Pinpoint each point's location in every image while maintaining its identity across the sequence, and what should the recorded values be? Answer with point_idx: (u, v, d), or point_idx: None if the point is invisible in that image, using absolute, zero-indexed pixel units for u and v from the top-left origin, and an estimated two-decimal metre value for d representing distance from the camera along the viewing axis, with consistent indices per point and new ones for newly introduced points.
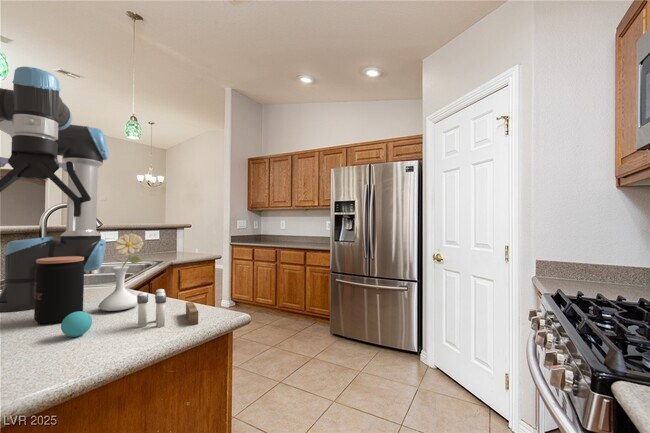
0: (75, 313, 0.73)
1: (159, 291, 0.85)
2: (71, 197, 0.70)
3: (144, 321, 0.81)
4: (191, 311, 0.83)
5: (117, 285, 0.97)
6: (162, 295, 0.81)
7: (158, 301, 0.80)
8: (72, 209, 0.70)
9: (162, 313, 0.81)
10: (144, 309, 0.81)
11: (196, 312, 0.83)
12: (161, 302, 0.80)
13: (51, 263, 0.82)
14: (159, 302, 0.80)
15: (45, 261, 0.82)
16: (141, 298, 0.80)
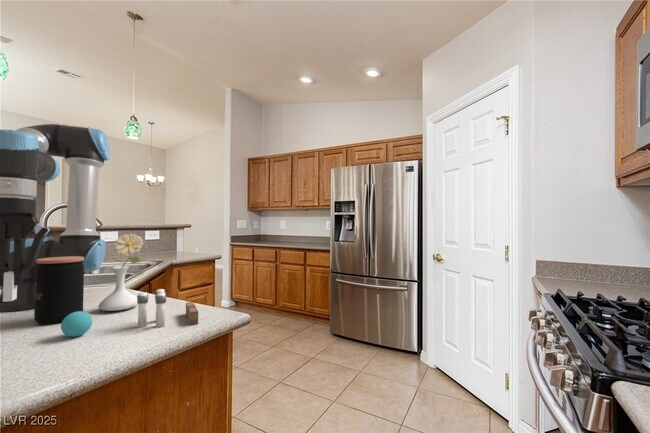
0: (75, 313, 0.73)
1: (159, 291, 0.85)
2: (15, 264, 0.68)
3: (144, 321, 0.81)
4: (191, 311, 0.83)
5: (117, 285, 0.97)
6: (162, 295, 0.81)
7: (158, 301, 0.80)
8: (11, 278, 0.67)
9: (162, 313, 0.81)
10: (144, 309, 0.81)
11: (196, 312, 0.83)
12: (161, 302, 0.80)
13: (51, 263, 0.82)
14: (159, 302, 0.80)
15: (45, 261, 0.82)
16: (141, 298, 0.80)
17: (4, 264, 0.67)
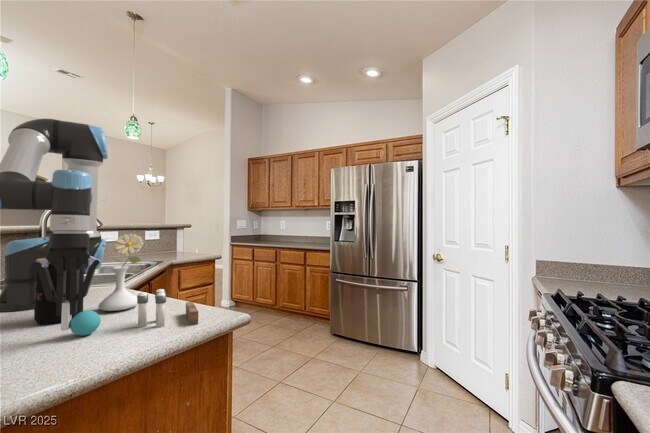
0: (89, 312, 0.75)
1: (159, 291, 0.85)
2: (71, 294, 0.72)
3: (144, 321, 0.81)
4: (191, 311, 0.83)
5: (117, 285, 0.97)
6: (162, 295, 0.81)
7: (158, 301, 0.80)
8: (68, 308, 0.72)
9: (162, 313, 0.81)
10: (144, 309, 0.81)
11: (196, 312, 0.83)
12: (161, 302, 0.80)
13: None
14: (159, 302, 0.80)
15: None
16: (141, 298, 0.80)
17: (62, 295, 0.72)
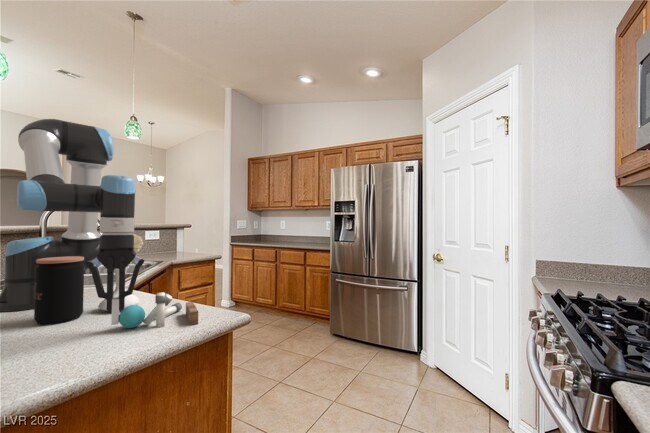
0: (143, 318, 0.80)
1: None
2: (120, 291, 0.78)
3: (151, 320, 0.82)
4: (191, 311, 0.83)
5: (117, 285, 0.97)
6: (162, 295, 0.81)
7: (158, 301, 0.80)
8: (117, 304, 0.77)
9: (162, 313, 0.81)
10: None
11: (196, 312, 0.83)
12: (161, 302, 0.80)
13: (51, 263, 0.82)
14: (159, 302, 0.80)
15: (45, 261, 0.82)
16: (166, 299, 0.83)
17: (112, 292, 0.77)
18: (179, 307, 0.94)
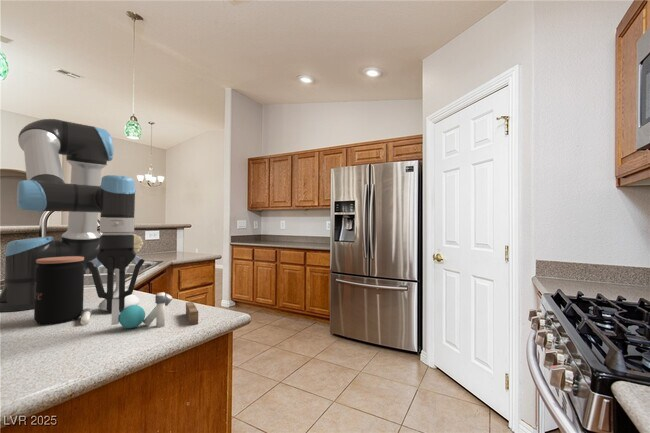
0: (143, 318, 0.80)
1: None
2: (120, 291, 0.78)
3: (151, 320, 0.82)
4: (191, 311, 0.83)
5: (117, 285, 0.97)
6: (162, 295, 0.81)
7: (158, 301, 0.80)
8: (118, 304, 0.77)
9: (162, 313, 0.81)
10: None
11: (196, 312, 0.83)
12: (161, 302, 0.80)
13: (51, 263, 0.82)
14: (159, 302, 0.80)
15: (45, 261, 0.82)
16: None
17: (112, 292, 0.77)
18: (91, 311, 0.89)
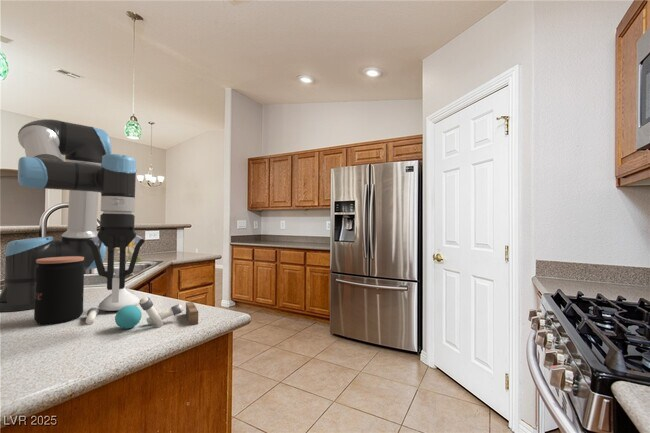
0: (138, 317, 0.80)
1: None
2: (120, 270, 0.78)
3: None
4: (191, 311, 0.83)
5: None
6: (145, 302, 0.77)
7: (145, 308, 0.77)
8: (118, 283, 0.78)
9: (155, 315, 0.79)
10: (166, 316, 0.83)
11: (196, 312, 0.83)
12: (148, 308, 0.77)
13: (51, 263, 0.82)
14: (146, 308, 0.77)
15: (45, 261, 0.82)
16: (177, 309, 0.84)
17: (112, 271, 0.77)
18: None
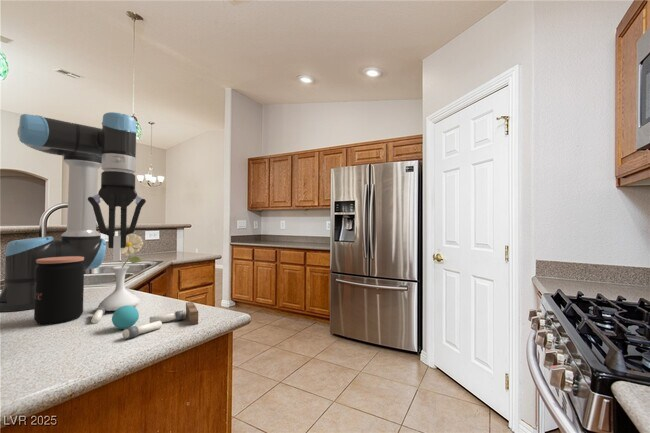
0: (135, 315, 0.79)
1: None
2: (121, 229, 0.78)
3: (155, 321, 0.82)
4: (191, 311, 0.83)
5: (117, 285, 0.97)
6: (126, 337, 0.72)
7: None
8: (119, 241, 0.78)
9: None
10: (168, 318, 0.84)
11: (196, 312, 0.83)
12: None
13: (51, 263, 0.82)
14: None
15: (45, 261, 0.82)
16: (180, 313, 0.86)
17: (113, 229, 0.77)
18: None
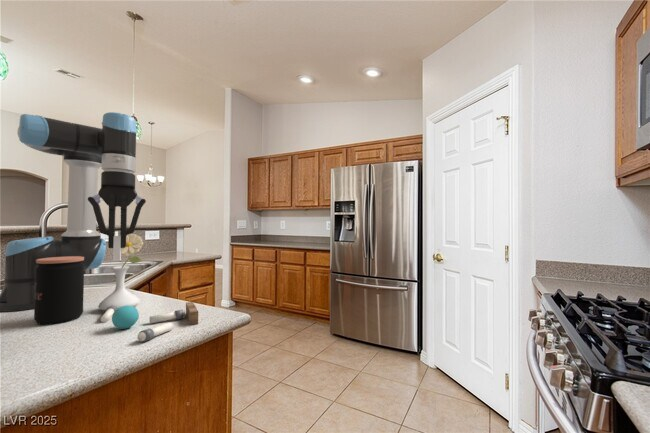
0: (135, 315, 0.79)
1: None
2: (121, 229, 0.78)
3: (155, 317, 0.83)
4: (191, 311, 0.83)
5: (117, 285, 0.97)
6: (145, 333, 0.70)
7: (152, 334, 0.71)
8: (119, 241, 0.78)
9: (161, 327, 0.75)
10: (168, 315, 0.85)
11: (196, 312, 0.83)
12: (152, 331, 0.72)
13: (51, 263, 0.82)
14: (152, 333, 0.71)
15: (45, 261, 0.82)
16: (180, 310, 0.87)
17: (113, 229, 0.77)
18: (108, 307, 0.91)
